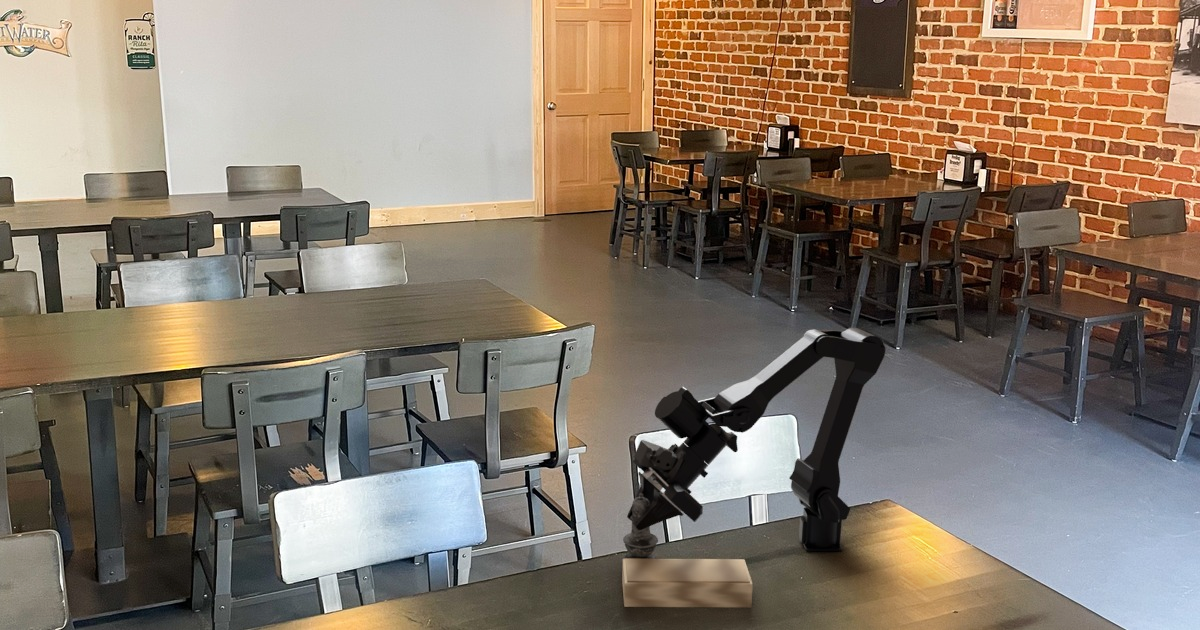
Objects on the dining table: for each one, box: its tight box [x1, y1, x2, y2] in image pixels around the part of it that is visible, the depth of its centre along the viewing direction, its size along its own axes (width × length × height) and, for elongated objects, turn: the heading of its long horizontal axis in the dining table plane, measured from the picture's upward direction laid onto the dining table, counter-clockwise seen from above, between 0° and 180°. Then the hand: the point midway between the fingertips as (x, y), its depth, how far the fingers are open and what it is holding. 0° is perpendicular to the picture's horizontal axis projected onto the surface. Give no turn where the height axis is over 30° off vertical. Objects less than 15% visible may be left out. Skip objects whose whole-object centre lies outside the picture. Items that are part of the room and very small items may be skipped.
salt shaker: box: [622, 493, 659, 559], centre depth 179 cm, size 6×6×12 cm
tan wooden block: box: [621, 557, 753, 608], centre depth 172 cm, size 20×8×4 cm, turn 91°
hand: (632, 523), depth 179 cm, fingers closed on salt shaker, 4 cm apart
